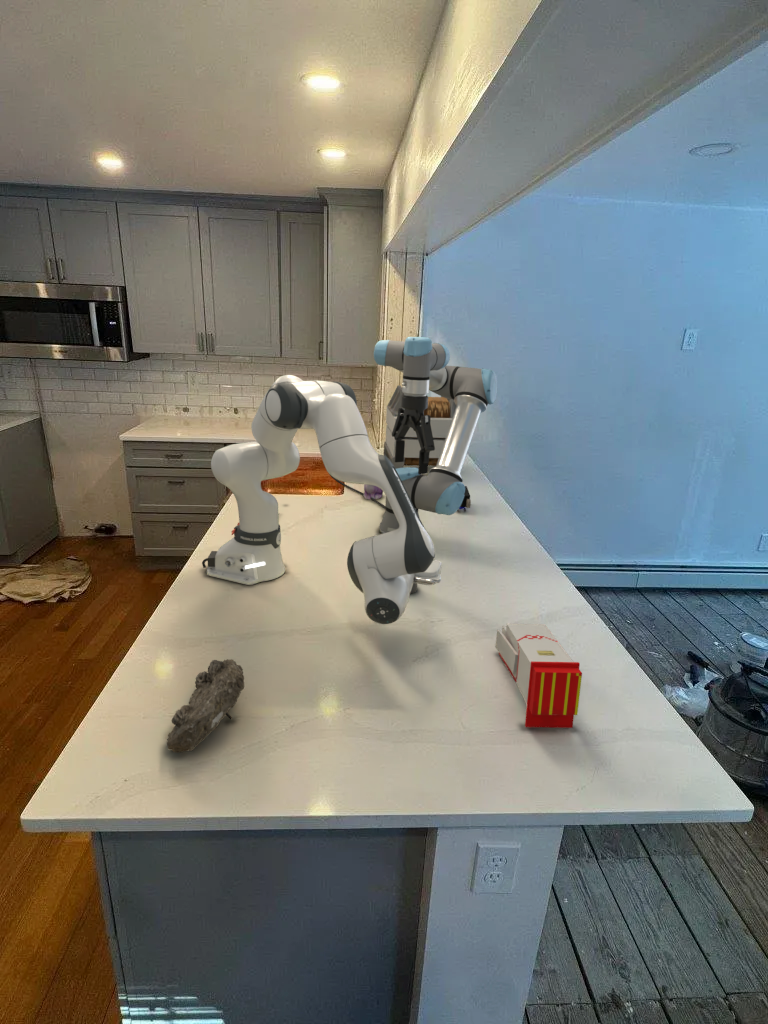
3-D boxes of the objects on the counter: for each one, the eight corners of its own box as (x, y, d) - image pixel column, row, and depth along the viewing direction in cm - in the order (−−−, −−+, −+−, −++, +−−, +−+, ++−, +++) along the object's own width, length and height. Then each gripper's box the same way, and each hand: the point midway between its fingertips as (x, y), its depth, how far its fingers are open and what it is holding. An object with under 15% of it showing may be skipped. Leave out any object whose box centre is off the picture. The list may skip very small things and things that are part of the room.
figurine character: (470, 516, 223) (465, 500, 237) (473, 499, 220) (467, 484, 233) (453, 516, 223) (449, 500, 236) (455, 498, 220) (451, 483, 233)
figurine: (368, 501, 231) (369, 466, 226) (357, 494, 239) (358, 459, 234) (388, 499, 235) (390, 464, 230) (377, 492, 244) (378, 458, 239)
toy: (542, 608, 134) (591, 669, 104) (537, 660, 136) (583, 734, 107) (491, 607, 133) (526, 668, 104) (487, 660, 136) (520, 733, 107)
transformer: (382, 463, 289) (386, 382, 275) (445, 464, 293) (451, 384, 279) (390, 482, 257) (394, 392, 243) (460, 483, 261) (468, 394, 247)
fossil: (192, 660, 117) (244, 628, 112) (224, 691, 120) (276, 661, 115) (142, 746, 98) (202, 712, 93) (182, 779, 101) (242, 748, 96)
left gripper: (441, 571, 128) (445, 547, 141) (352, 560, 131) (365, 537, 144) (438, 596, 130) (443, 570, 143) (351, 584, 133) (364, 560, 146)
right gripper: (382, 388, 168) (379, 458, 175) (427, 401, 147) (422, 480, 154) (404, 387, 171) (400, 456, 178) (451, 400, 151) (445, 477, 158)
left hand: (403, 554), depth 143 cm, fingers open, 8 cm apart
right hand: (410, 467), depth 166 cm, fingers open, 13 cm apart
